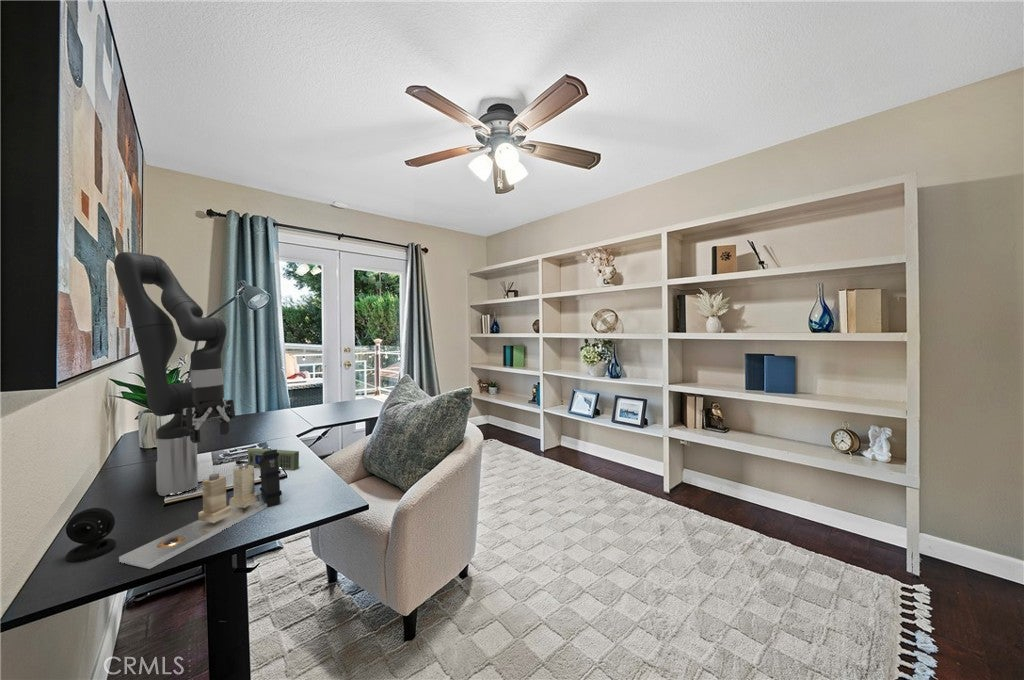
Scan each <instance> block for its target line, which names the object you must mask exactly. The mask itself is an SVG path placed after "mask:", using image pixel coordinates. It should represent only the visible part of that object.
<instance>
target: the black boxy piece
mask: <svg viewBox="0 0 1024 680" xmlns="http://www.w3.org/2000/svg"><path fill="white" fill-rule="evenodd" d="M277 450H278V449H273V450H270V451H265V452H264V453H263V454H262V455H261V457H260V458H259V462H258V465H260V468H259V469H260V470H259V471H260V475H259V476H258V477H259V479H260V484H261V485H260V487H259V490H260V493H261V496H262V498H263V500H264V501H265V502H264V503H267V508H268V507H269V508H270V507H273V506H277V505H280V504H281V496H282V495H283V492H282V490H281V487H280V486H281V484H280V475H281V470H280V469H279V467H278V456H279V453H277Z"/></svg>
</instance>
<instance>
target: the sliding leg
mask: <svg viewBox="0 0 1024 680" xmlns="http://www.w3.org/2000/svg"><path fill="white" fill-rule="evenodd" d="M201 481H202V486H201V487H202V510H201V511H199V512H198V513H197V514H198V520H199V521H205V522H211V523H215V522H217V521H219V520H221V519H223V518H225V517H227V516H229V515H231V507H228V506H229V505H227V478H226V476H222V475H220V474H219V473H212V474H210V475H208V478H207V479H204V480H201Z"/></svg>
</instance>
